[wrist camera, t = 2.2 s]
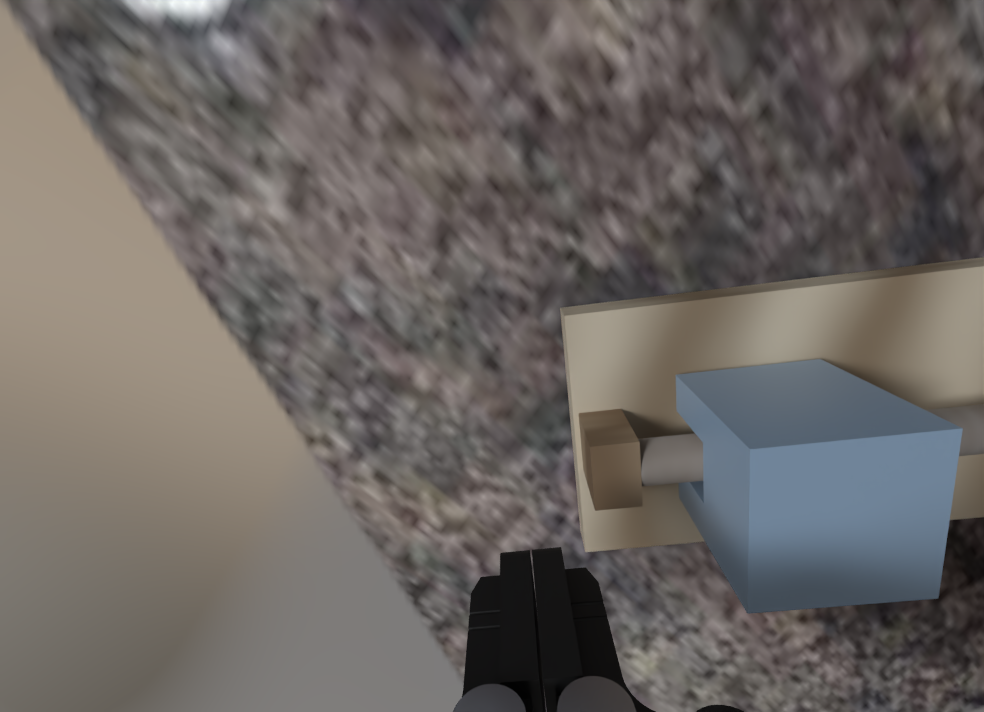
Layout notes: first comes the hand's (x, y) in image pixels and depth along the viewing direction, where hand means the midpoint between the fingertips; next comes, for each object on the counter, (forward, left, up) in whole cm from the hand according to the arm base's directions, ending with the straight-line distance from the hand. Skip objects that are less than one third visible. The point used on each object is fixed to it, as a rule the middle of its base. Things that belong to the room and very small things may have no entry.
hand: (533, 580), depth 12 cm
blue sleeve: (-8, 0, -7) cm, 11 cm away
